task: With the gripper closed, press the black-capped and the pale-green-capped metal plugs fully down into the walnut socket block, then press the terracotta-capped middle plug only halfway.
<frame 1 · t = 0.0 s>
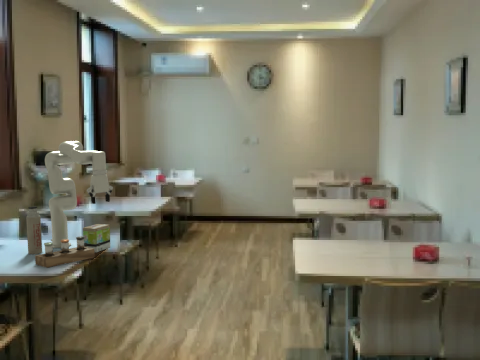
hand: (100, 202, 325), 31 cm above the table, fingers open, 9 cm apart
plug 1: (48, 249, 309), point 8 cm above the table, slide at 0.0 cm
thermos bottle: (35, 253, 339), on the table
tea box: (97, 250, 345), on the table
socket block: (65, 260, 317), on the table
plug 2: (80, 243, 324), point 8 cm above the table, slide at 0.0 cm
plug mid: (65, 246, 317), point 8 cm above the table, slide at 0.0 cm
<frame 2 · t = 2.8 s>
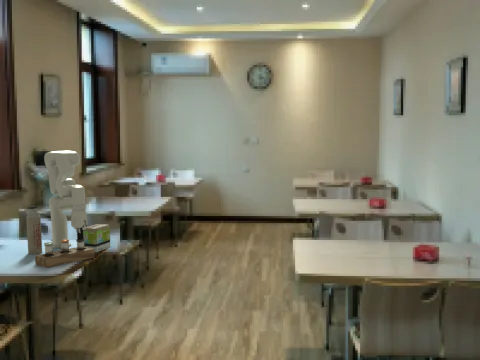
hand: (80, 239, 324), 11 cm above the table, fingers closed
plug 2: (80, 245, 324), point 7 cm above the table, slide at 1.3 cm, touching gripper
everything else where it was.
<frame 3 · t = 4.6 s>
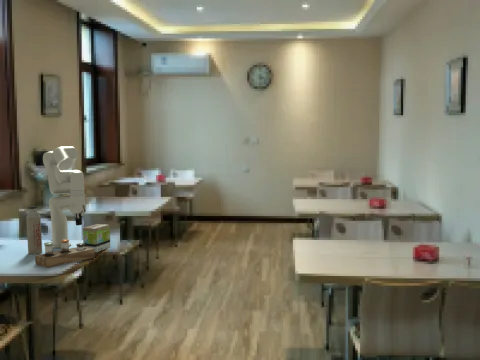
hand: (79, 224, 323), 19 cm above the table, fingers closed
plug 2: (80, 250, 324), point 4 cm above the table, slide at 4.0 cm
everything else where it was.
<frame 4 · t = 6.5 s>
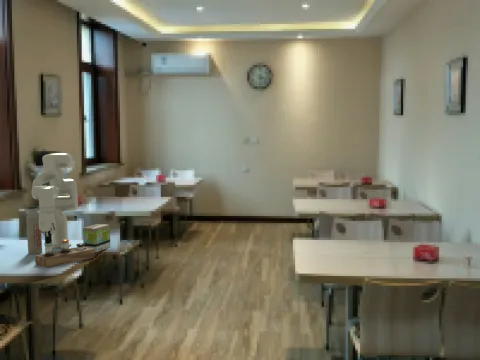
hand: (48, 243, 309), 12 cm above the table, fingers closed
plug 1: (48, 249, 309), point 8 cm above the table, slide at 0.0 cm, touching gripper
everything else where it was.
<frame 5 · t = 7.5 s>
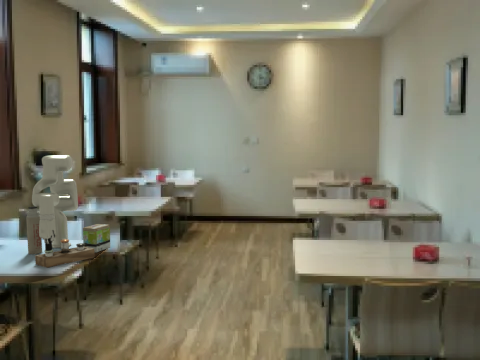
hand: (48, 250, 309), 8 cm above the table, fingers closed
plug 1: (49, 256, 309), point 4 cm above the table, slide at 4.0 cm, touching gripper
everything else where it was.
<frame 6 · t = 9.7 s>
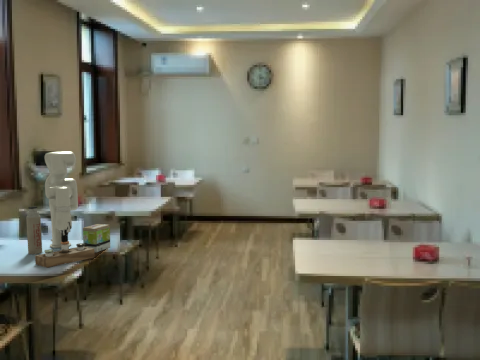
hand: (64, 241, 316), 11 cm above the table, fingers closed
plug 1: (49, 256, 309), point 4 cm above the table, slide at 4.0 cm
plug mid: (65, 248, 317), point 7 cm above the table, slide at 0.9 cm, touching gripper
everything else where it was.
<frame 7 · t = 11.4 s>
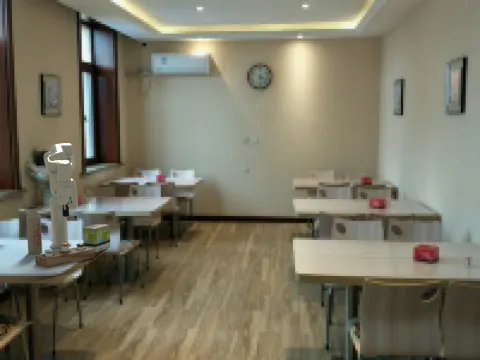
hand: (65, 216, 320), 25 cm above the table, fingers closed
plug mid: (65, 249, 317), point 6 cm above the table, slide at 1.9 cm
everything else where it was.
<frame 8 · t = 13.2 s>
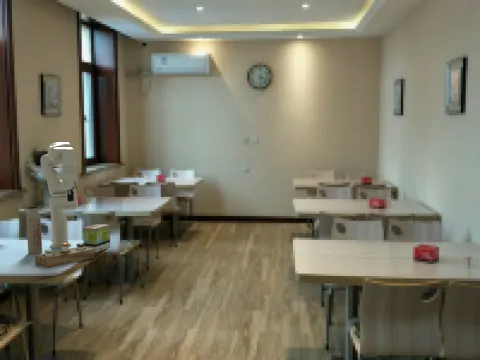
hand: (70, 201, 327), 32 cm above the table, fingers closed
nothing on the table moved.
at the end: plug 2 slide at 4.0 cm; plug 1 slide at 4.0 cm; plug mid slide at 1.9 cm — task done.
